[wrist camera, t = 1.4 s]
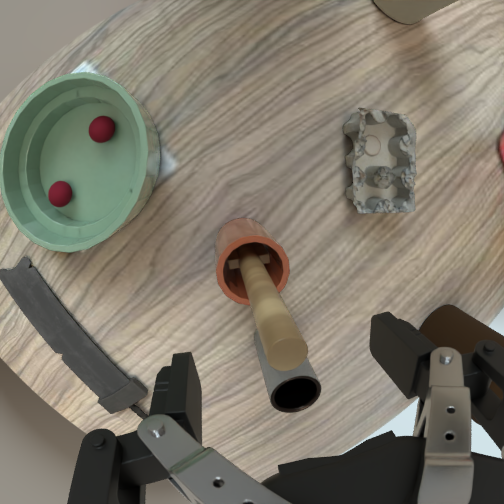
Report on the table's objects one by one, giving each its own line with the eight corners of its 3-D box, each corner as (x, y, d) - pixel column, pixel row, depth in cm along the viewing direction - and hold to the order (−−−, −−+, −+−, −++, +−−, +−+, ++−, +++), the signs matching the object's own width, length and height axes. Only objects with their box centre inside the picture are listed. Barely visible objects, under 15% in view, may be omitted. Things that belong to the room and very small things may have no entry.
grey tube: (289, 351, 34) (314, 411, 24) (251, 351, 33) (266, 414, 23) (296, 318, 33) (327, 374, 23) (256, 317, 32) (275, 376, 22)
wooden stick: (224, 239, 29) (244, 345, 11) (259, 234, 29) (325, 328, 12) (227, 257, 29) (250, 378, 12) (261, 252, 29) (326, 362, 12)
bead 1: (54, 183, 25) (41, 185, 22) (74, 177, 25) (62, 178, 22) (58, 208, 25) (46, 211, 23) (78, 202, 26) (67, 205, 23)
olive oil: (436, 291, 35) (571, 387, 11) (470, 310, 37) (577, 389, 13) (398, 355, 37) (502, 475, 13) (436, 365, 39) (526, 459, 16)
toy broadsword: (26, 240, 27) (17, 243, 25) (206, 436, 36) (207, 446, 34) (-1, 274, 27) (-10, 278, 25) (170, 451, 36) (169, 461, 34)
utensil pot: (211, 222, 29) (210, 242, 21) (266, 214, 29) (285, 230, 21) (219, 274, 30) (223, 310, 22) (272, 266, 31) (292, 298, 23)
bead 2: (93, 121, 24) (83, 118, 21) (117, 114, 24) (108, 110, 21) (95, 146, 24) (85, 145, 22) (120, 140, 25) (111, 137, 22)
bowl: (26, 114, 22) (-5, 107, 17) (152, 72, 24) (139, 50, 18) (45, 247, 27) (16, 264, 21) (172, 221, 28) (162, 235, 22)
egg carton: (340, 109, 27) (357, 101, 23) (398, 118, 28) (420, 114, 24) (340, 209, 30) (358, 216, 26) (398, 210, 31) (419, 216, 27)
